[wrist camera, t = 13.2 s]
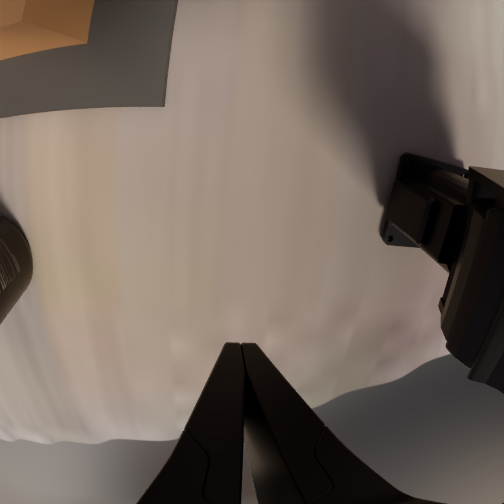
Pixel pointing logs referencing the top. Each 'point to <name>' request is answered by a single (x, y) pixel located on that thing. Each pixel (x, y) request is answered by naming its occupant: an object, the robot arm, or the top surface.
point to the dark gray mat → (97, 63)
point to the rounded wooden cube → (42, 25)
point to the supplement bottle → (13, 266)
